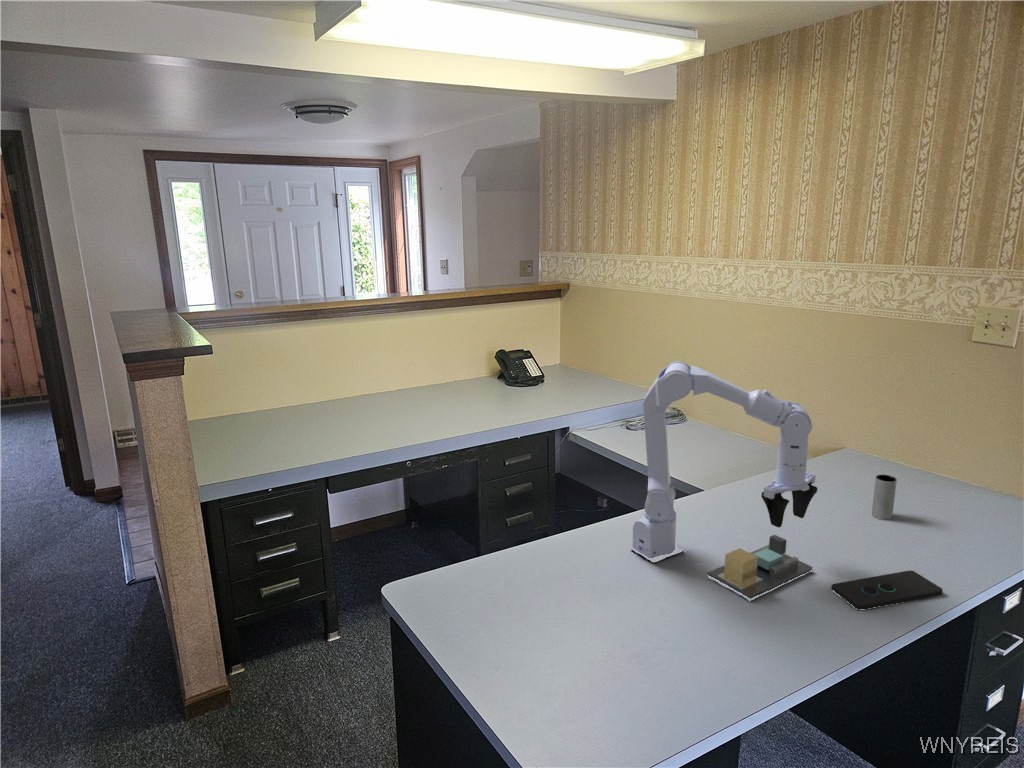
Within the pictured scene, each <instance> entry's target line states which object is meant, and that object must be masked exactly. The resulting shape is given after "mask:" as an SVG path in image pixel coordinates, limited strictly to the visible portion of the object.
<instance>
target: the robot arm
mask: <svg viewBox="0 0 1024 768" xmlns="http://www.w3.org/2000/svg"><path fill="white" fill-rule="evenodd" d="M691 391H693V393H692V396H696V395H697V396H698V395H702V394H705V393H708V394H711V395H713V396H716V397H718V398H721V399H724V400H726V401H729V402H731V403H734V404H737V405H740V406H742V407H743V410H744V413H745V414H746V415H747V416H750V417H751V418H754V419H757V420H759V421H761V422H763V423H765V424H767V425H770V426H772V427H774V428H780V433H779V438H778V444H777V445H778V447H777V458H776V459H777V460H776V474H775V475H776V476H775V478H774V480H772V482H771V483H769V484H768V485H767V486H765V487H764V488H763V491H762V492H761V498H762V500H763V502H764V503H765V506H766V508H767V512H768V517H769V521H770V525H772V526H774V527H776V528H781V527H782V525H783V523H784V522H783V521H784V516H785V511H786V508H787V506H788V504H789V502H790V500H789V499H787V498H784V497H783V495H782V494H784V493H786V492H787V493H788V492H791V495H792V513H793V516H795V517H798V518H800V519H803V518H805V515H806V513H807V511H808V507H809V506H810V505H809V504H810V503H811V501H812V499H813V498H814V496H815V494H817V493H818V487H817V486H815V485H814V484H815V483H816V474H814V473H810V472H808V471H807V464H808V463H807V462H808V452H809V451H808V450H809V442H808V439H809V434H810V433H811V431H812V430H813V425H812V420H811V417H810V415H809V413H808V411H807V409H806V408H804V407H803V405H800V404H799V403H798V402H793V401H792V400H789V399H788V400H787V401H786V400H783V399H780V398H779V397H776V396H774V395H772V393H771V391H770V390H768V389H764V390H761V389H756V390H752V391H748V390H745V389H744V388H742V387H739V386H737V385H735V384H734V383H732V382H730V381H727V380H725V379H724V378H721V377H719V376H717V375H715V374H712V373H711V372H709V371H707V370H704V369H703V368H700V367H698V366H694V365H689V364H688V363H687V362H684V361H677V360H676V361H673V362H671V363H670V364H668V365H667V366H666V367H664V368H663V369H661V370H660V371H659V374H658V375H657V377H656V378H655V380H654V382H653V383H652V385H651V387H650V388H649V390H648V391H647V393H646V394H645V396H644V399H643V403H642V408H643V420H644V422H643V423H644V424H643V425H644V433H645V435H644V436H645V449H646V450H645V451H646V461H647V462H646V465H647V477H648V478H647V480H648V481H647V483H648V484H647V496H646V500H645V502H644V509H643V515H642V516H641V518H640V519H638V520H636V521H635V522H634V523H633V525H632V547H633V548H634V549H635V550H637V551H638V552H640V553H642V554H644V555H645V556H647V557H648V558H654V557H657V556H660V555H665V554H670V553H672V552H673V551H674V550H675V546H676V534H677V531H676V530H677V512H676V511H675V509H674V507H675V506H674V503H675V499H676V489H675V488H674V486H673V484H672V481H671V474H670V469H669V468H670V466H669V465H670V464H669V451H668V448H669V447H668V437H667V436H668V434H667V433H668V432H667V421H666V420H667V419H666V409H668V408H669V407H670V405H672V404H673V403H674V402H677V401H679V400H682V399H684V398H686V397H687V396H689V394H690V393H691Z"/></svg>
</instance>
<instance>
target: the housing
mask: <svg viewBox="0 0 1024 768" xmlns="http://www.w3.org/2000/svg"><path fill="white" fill-rule="evenodd" d="M757 560H758V557H757V556H755V555H753V554H751V552H749V551H746V550H745V549H743V548H737V549H735V550H732V551H730V552H727V553H725V555H724V565H725V569H724V576H725V577H727V578H729V579H731V580H732V581H734V582H736V583H738V584H740V585H744V584H746V583H748V582H750V581H753V580H755V579H756V575H757Z"/></svg>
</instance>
